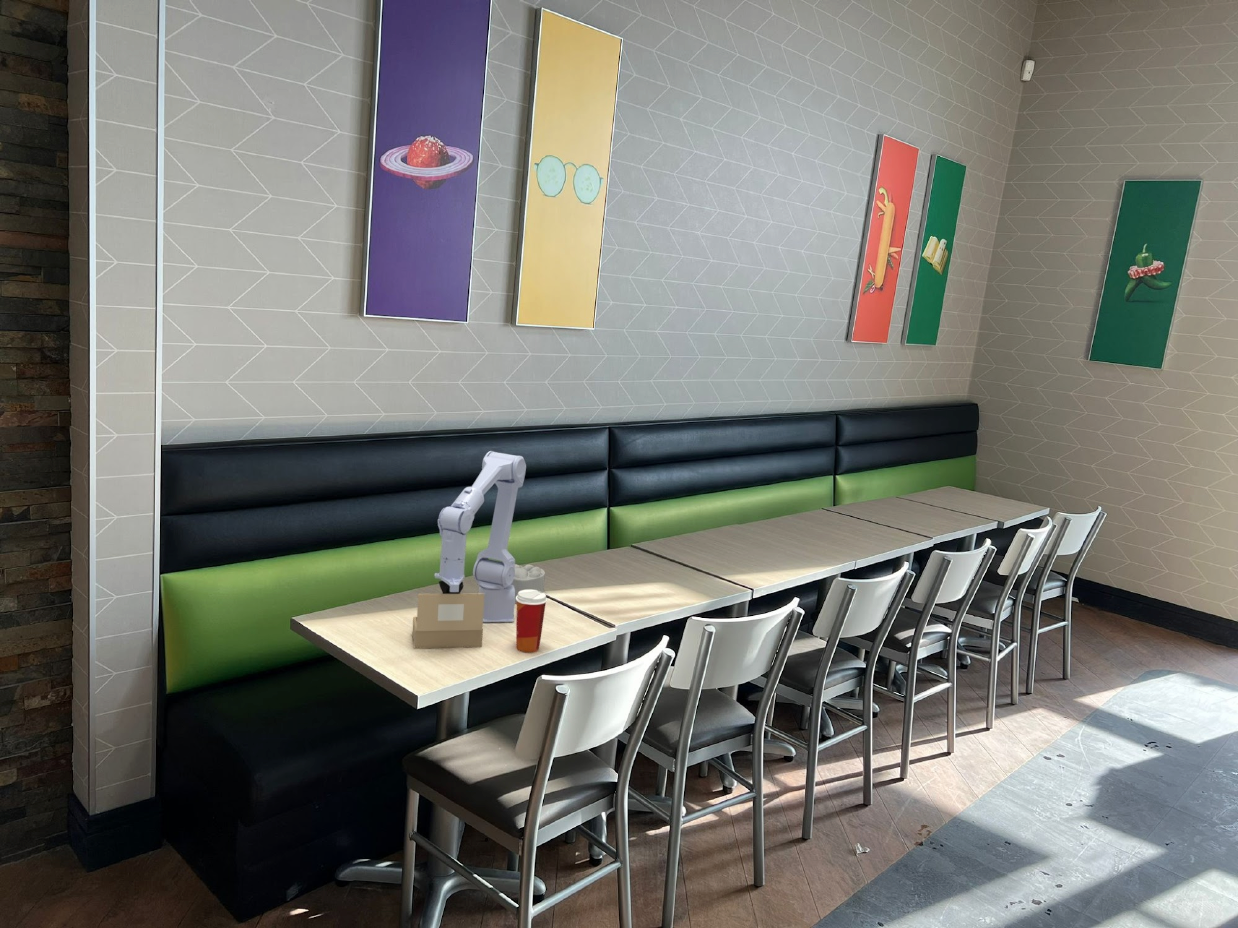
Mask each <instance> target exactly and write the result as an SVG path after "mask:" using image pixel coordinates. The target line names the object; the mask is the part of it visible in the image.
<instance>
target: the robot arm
mask: <svg viewBox="0 0 1238 928" xmlns="http://www.w3.org/2000/svg"><path fill="white" fill-rule="evenodd" d="M481 466H482V467H481V469H482V470H481V471H480V472H479V475H478V476H477V477H476V479H475V481H474V482H473V484H472V485H471V486H466V487H465V488H464V489H463V490H462V491H461V493H460V494H459V495H458V496H457V497H456V498H455V500H454V501H453V503H451V505H450V506H446V507H443V508H442V509H441V511H440V512H439V515H438V519H437V526H438V527H437V528H438V529H439V536H440V538H441V544H440V545H441V546H440V559H439V560H440V564H439V572H435V573H434V578H435V579H439V580H440V581H438V584H439V587H440V590H441V592H442V593H441V594H461V592H462V591H463V590H464V589H463V588H464V582H463V581H464V579H465V565H466V563H465V562H466V547H467V546H466V545H467V533H468V532H469V531H470V530H471V528H472V526H473V521H474V519H475V515H476V513H477V512H478V511H479V509H480V508H481V506H482V505H483V504H484V502H485V497H484V495H486V493H487V492H488V491H489V490H490V489H491V488H492V487H493V485H495V486H496V487H497V494H496V498H495V499H496V500H495V506H494V510H493V511H494V512H493V515H492V516H493V517H492V522H491V527H490V532H489V538H488V544H487V547H486V548H484V549H483V550H481V551H480V552H478V553H477V557H476V560H475V563H474V565H473V569H472V577H473V579H474V581H476V585H478V593H484V611H483V623H511V622H512V623H513V622H514V619H515V618H514V615H515V605H516V604H515V589H514V586H513V585H511V583H512V582H513V580H514V576H515V564H516V559H515V558H514V556H513V555H512V554H511V553H510V552H509V550H508V546H509V540H510V535H511V530H512V523H513V517H514V512H515V507H516V501H517V495H518V490H519V489H521V488H522V487H523V485H524V481H525V476H526V472H527V471H526V469H527V464H526V461H525V458H524V457H523V456H522V455H514V454H509V453H503V452H496V451H493V450H490V451H488V452H486V454H485V455H484V456H483V459H482V464H481Z"/></svg>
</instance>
